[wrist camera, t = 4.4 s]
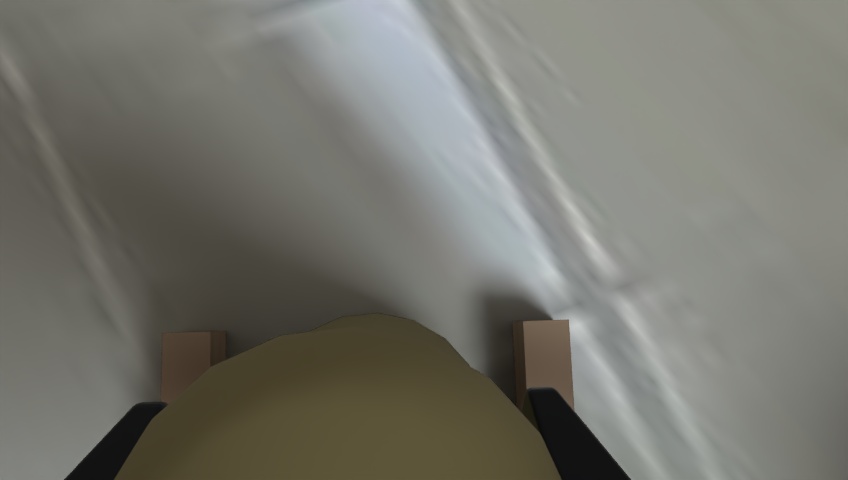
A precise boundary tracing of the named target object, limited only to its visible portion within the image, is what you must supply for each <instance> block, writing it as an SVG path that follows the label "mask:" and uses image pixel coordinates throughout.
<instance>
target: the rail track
mask: <svg viewBox="0 0 848 480" xmlns="http://www.w3.org/2000/svg"><path fill="white" fill-rule="evenodd" d="M513 341H514V361H515V381H516V401H517V408H518V409H519V411H520V412H521V413H522V407H523V401H524V395H525V392H526V390H527V389H528V388H531V387H552V388H554V389H556V390H557V391H558V392H559V393H560V395H561V396H562V397H563V398H564V399H565V401H566V402H567V403H568V404H569V405H570V407H571V408H572V409H573V410H574V397H573V381H572V365H571V349H570V332H569V320H540V321H513ZM225 360H226V331H205V332H175V333H162V370H161V402H166V403H167V404H169V403H171V402H172V401H173V400H174V399H175V398H176V397H177V396H178V395H180V394H181V393H182V392H183V391H184V390H185V389H186V388H188V387H189V386H190V385H191V384H192V383H193V382H194V381H195V380H197V379H198V378H199V377H200V376H201V375H202V374H203V373H205V372H206V371H207V370H208V369H209V368H210V367H211V366H214V365H216V364H218V363H220V362H222V361H225Z"/></svg>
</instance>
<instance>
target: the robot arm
mask: <svg viewBox="0 0 848 480" xmlns="http://www.w3.org/2000/svg"><path fill="white" fill-rule="evenodd" d="M167 405H168V404H167V403H166V402H142V403H138V404H136V405H135V406H133V407H132V408H131V409H130V410H129V411H128V412H127V413H126V414H125V416H124V417H123V418H122V419H121V420H120V421H119V422H118V423H117V424H116V425H115V426H114V427H113V428H112V429H111V430H110V431H109V433H108V434H107V435H106V436H105V437H104V438H103V439H102V440H101V441H100V442H99V443H98V444H97V445H96V446H95V447H94V448H93V450H92V451H91V452H90V453H89V454H88V455H87V456H86V457H85V458H84V459H83V460H82V461H81V462H80V463H79V464H78V465H77V467H76V468H75V469H74V470H73V471H72V472H71V473H70V474H69V475H68V476H67V477H66V478H65V479H64V480H114V479H115V477H116V476H117V474H118V472H119V471H120V469H121V467H122V466H123V464H124V463H125V461H126V459H127V458H128V456H129V455H130V453H131V451H132V450H133V448H134V446H135V445H136V443H137V442H138V440H139V438H140V437H141V435H142V434H143V432H144V430H145V429H146V427H147V426H148V424H149V423H150V421H151V420H152V418H154V417H155V416H156V415H157V414H158V413H159V412H160V411H162V410H163V409H164V408H165V407H166V406H167ZM522 414H523V415H524V416H525V417H526V418H527V419H528V420H529V422H530V423H531V424H532V425H533V426H534V427H535V428H536V429H537V430H538V431H539V433H540V434H541V436H542V438H543V440H544V442H545V444H546V447H547V449H548V451H549V453H550V455H551V457H552V460H553V462H554V464H555V466H556V468H557V470H558V473H559V475H560V477H561V479H562V480H631V479H630V478H629V477H628V475H627V474H626V473H625V472H624V471H623V469H622V468H621V467H620V466H619V465H618V463H617V462H616V461H615V460H614V459H613V457H612V456H611V455H610V454H609V452H608V451H607V450H606V449H605V448H604V446H603V445H602V444H601V443H600V442H599V440H598V439H597V438H596V437H595V436H594V434H593V433H592V432H591V431H590V430H589V428H588V427H587V426H586V425H585V424H584V422H583V421H582V420H581V419H580V417H579V416H578V415H577V414H576V413H575V411H574V410H573V409H572V408H571V407H570V405H569V404H568V403H567V402H566V401H565V399H564V398H563V397H562V396H561V395H560V393H559V392H558V391H557V390H556V389H554V388H552V387H531V388H528V389H527V390H526V392H525V395H524V401H523V407H522Z"/></svg>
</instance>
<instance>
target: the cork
mask: <svg viewBox="0 0 848 480" xmlns="http://www.w3.org/2000/svg"><path fill="white" fill-rule="evenodd" d="M114 480H562V479H561V477H560V475H559V473H558V470H557V468H556V466H555V464H554V462H553V460H552V457H551V455H550V453H549V451H548V449H547V447H546V444H545V442H544V440H543V438H542V436H541V434H540V433H539V431H538V430H537V429H536V428H535V427H534V426H533V425H532V424H531V423H530V422H529V420H528V419H527V418H526V417H525V416H524V415H523V414H522V413H521V412H520V411H519V409H518V408H517V407H516V406H515V405H514V404H513V403H512V402H511V401H510V400H509V398H508V397H507V396H506V395H505V394H504V393H503V392H502V391H501V390H500V389H499V387H498V386H497V385H496V384H495V383H494V382H493V381H492V380H491V379H490V378H489V377H487V376H485V375H484V374H482V373H480V372H478V371H477V370H475V369H473V368H471V367H470V365H469V364H468V363H467V362H466V361H465V360H464V359H463V358H462V356H461V355H460V354H459V353H458V352H457V351H456V350H455V349H454V348H453V347H452V345H451V344H450V343H449V342H448V341H447V340H446V339H445V338H443V337H442V336H440V335H438V334H436V333H435V332H433V331H431V330H429V329H428V328H426V327H424V326H422V325H421V324H419V323H417V322H416V321H414V320H409V319H405V318H400V317H395V316H390V315H385V314H380V313H373V314H364V315H355V316H346V317H340V318H338V319H336V320H333V321H331V322H329V323H327V324H325V325H322V326H320V327H318V328H316V329H314V330H311V331H309V332H305V333H296V334H287V335H280V336H278V337H276V338H274V339H271V340H269V341H267V342H265V343H262V344H260V345H258V346H256V347H254V348H251V349H249V350H247V351H245V352H242V353H240V354H238V355H236V356H234V357H231V358H229V359H227V360H225V361H222V362H220V363H218V364H216V365H214V366H211V367H210V368H209V369H208V370H207V371H206V372H205V373H203V374H202V375H201V376H200V377H199V378H198V379H197V380H195V381H194V382H193V383H192V384H191V385H190V386H189V387H188V388H186V389H185V390H184V391H183V392H182V393H181V394H180V395H178V396H177V397H176V398H175V399H174V400H173V401H172V402H171V403H169V404H168V405H167V406H166V407H165V408H164V409H163V410H162V411H160V412H159V413H158V414H157V415H156V416H155V417H154V418H152V420H151V421H150V423H149V424H148V426H147V427H146V429H145V430H144V432H143V434H142V435H141V437H140V438H139V440H138V442H137V443H136V445H135V446H134V448H133V450H132V451H131V453H130V455H129V456H128V458H127V459H126V461H125V463H124V464H123V466H122V467H121V469H120V471H119V472H118V474H117V476H116V477H115V479H114Z"/></svg>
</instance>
